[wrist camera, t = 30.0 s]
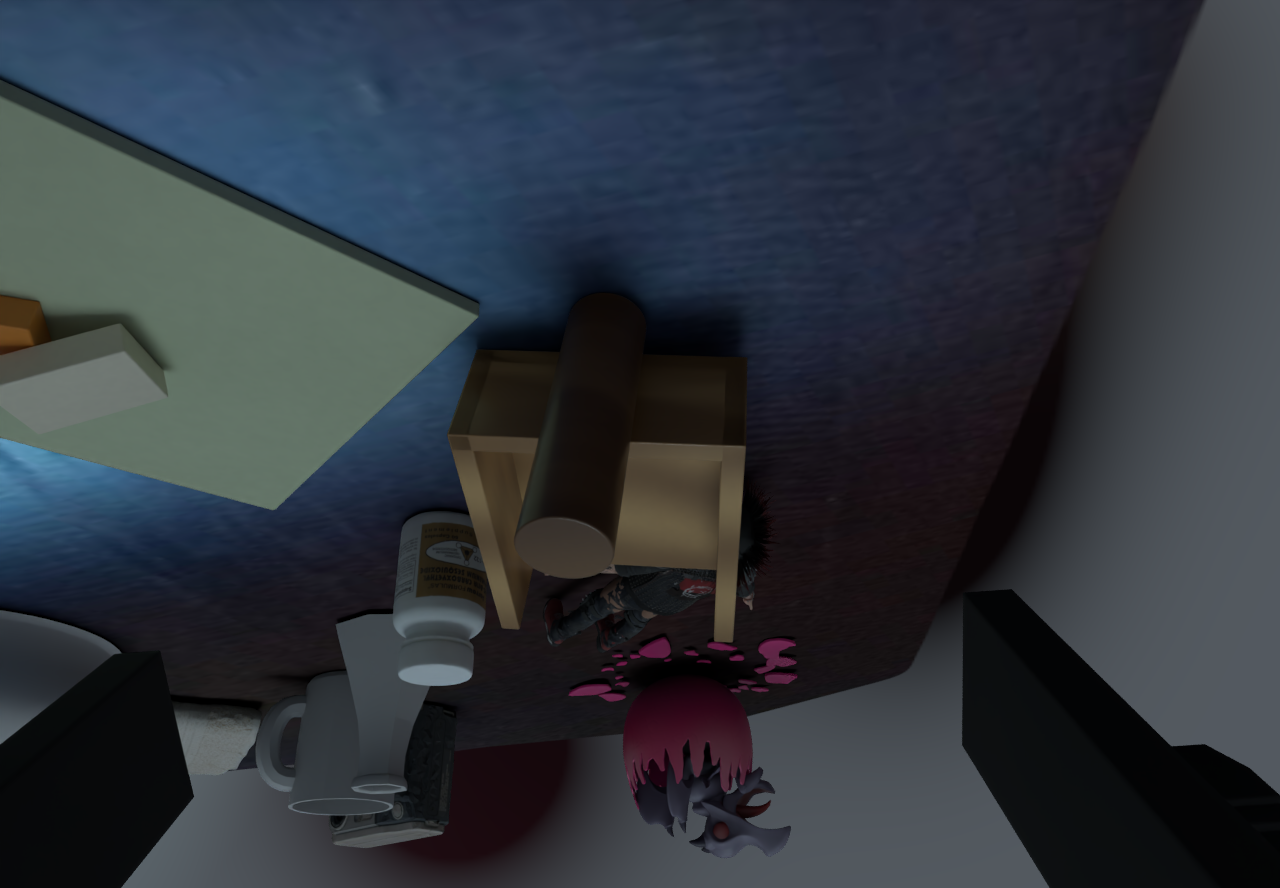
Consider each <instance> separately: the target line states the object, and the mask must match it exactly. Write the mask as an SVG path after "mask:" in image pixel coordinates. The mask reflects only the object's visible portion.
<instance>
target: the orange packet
mask: <svg viewBox="0 0 1280 888" xmlns="http://www.w3.org/2000/svg"><path fill="white" fill-rule="evenodd" d="M48 342H52V340H51V337H50V334H49V331H48V328H47V324H46V321H45V318H44V315H43V312H42V309H41V305H40V303H39V302H38V301H32V300H26V299H20V298H14V297H8V296H2V295H0V355H3V354H7V353H11V352H15V351H18V350H22V349H26V348H29V347H33V346H37V345H41V344H44V343H48Z"/></svg>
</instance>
